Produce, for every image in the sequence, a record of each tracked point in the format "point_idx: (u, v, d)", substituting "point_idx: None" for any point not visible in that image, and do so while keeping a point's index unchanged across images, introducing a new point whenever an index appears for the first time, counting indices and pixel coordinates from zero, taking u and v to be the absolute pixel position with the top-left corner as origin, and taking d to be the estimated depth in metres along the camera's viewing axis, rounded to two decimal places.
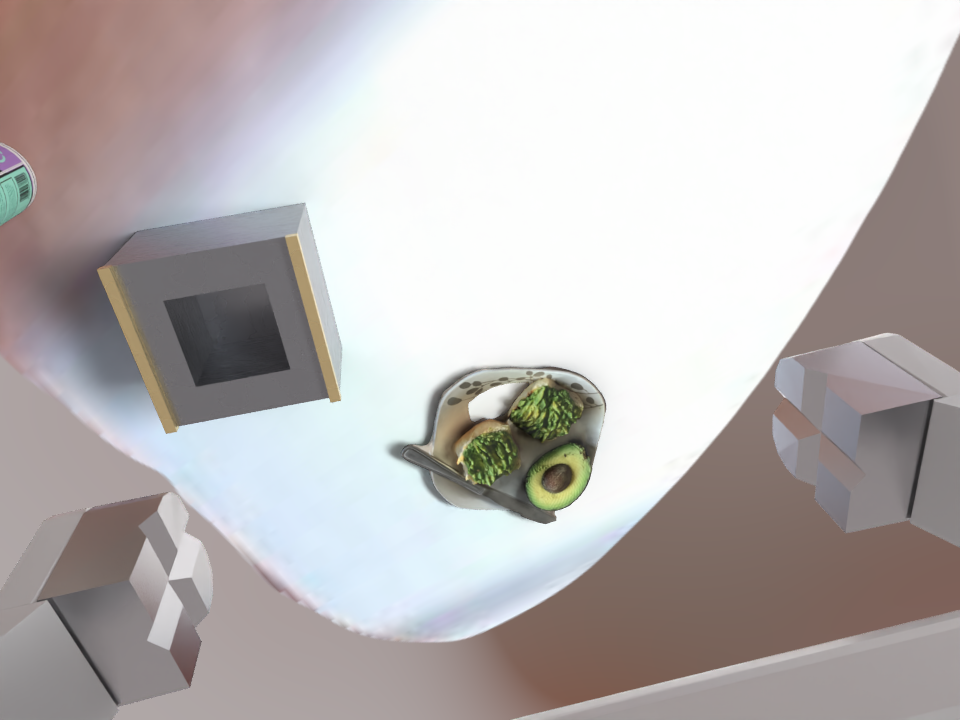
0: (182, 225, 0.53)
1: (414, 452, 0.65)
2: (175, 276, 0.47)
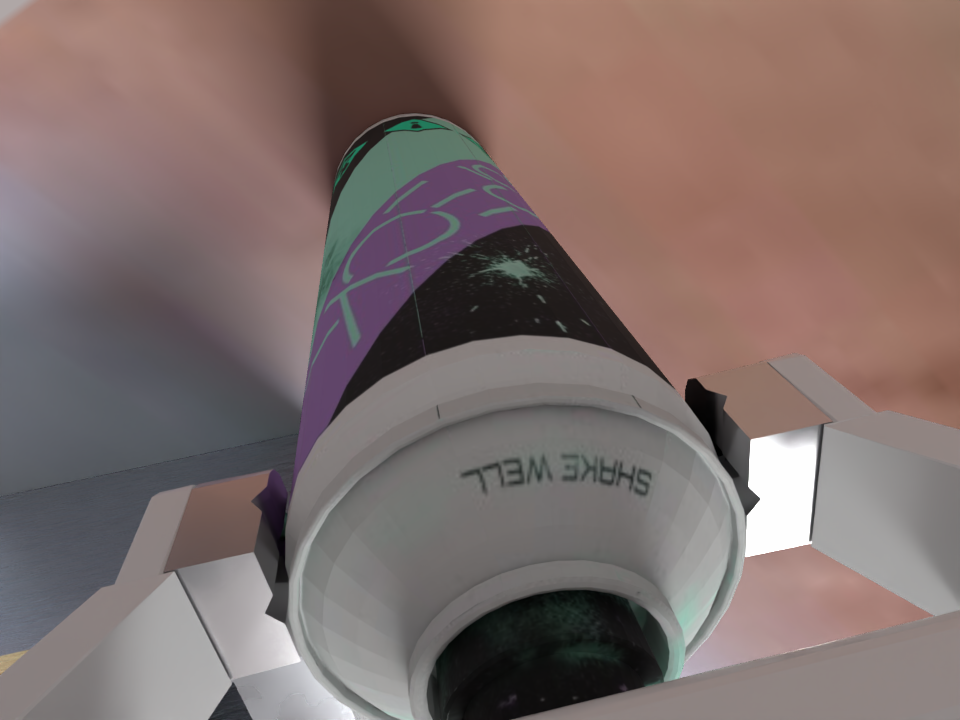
0: None
1: None
2: (297, 699, 0.22)
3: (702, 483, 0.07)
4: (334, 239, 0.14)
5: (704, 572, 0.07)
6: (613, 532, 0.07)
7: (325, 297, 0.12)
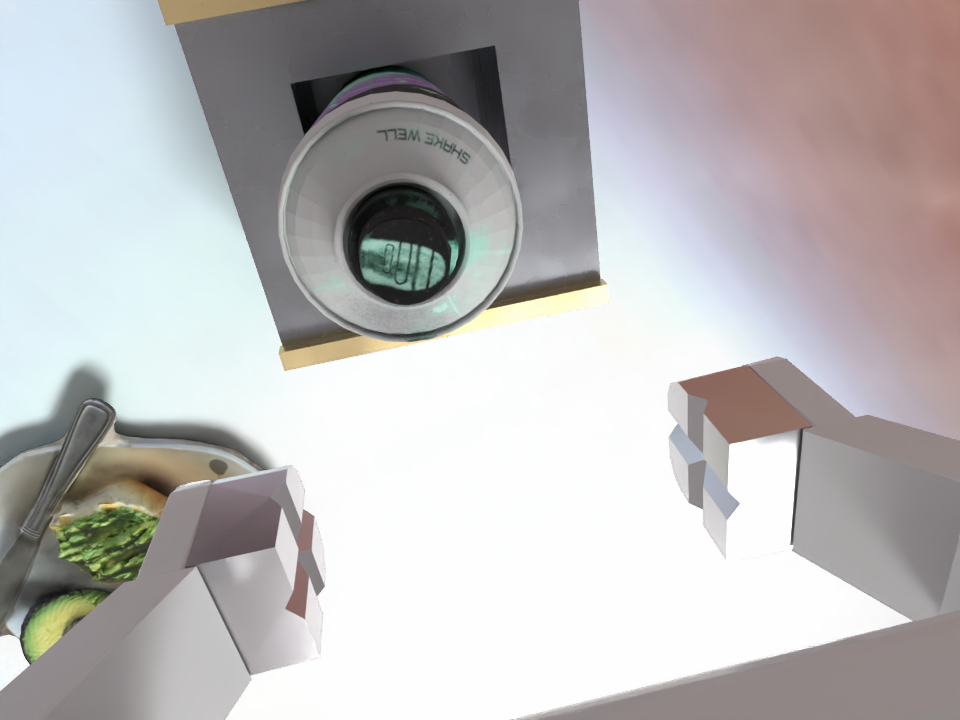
0: None
1: (100, 423, 0.35)
2: (544, 80, 0.24)
3: (498, 177, 0.15)
4: None
5: (494, 224, 0.15)
6: (445, 173, 0.14)
7: None
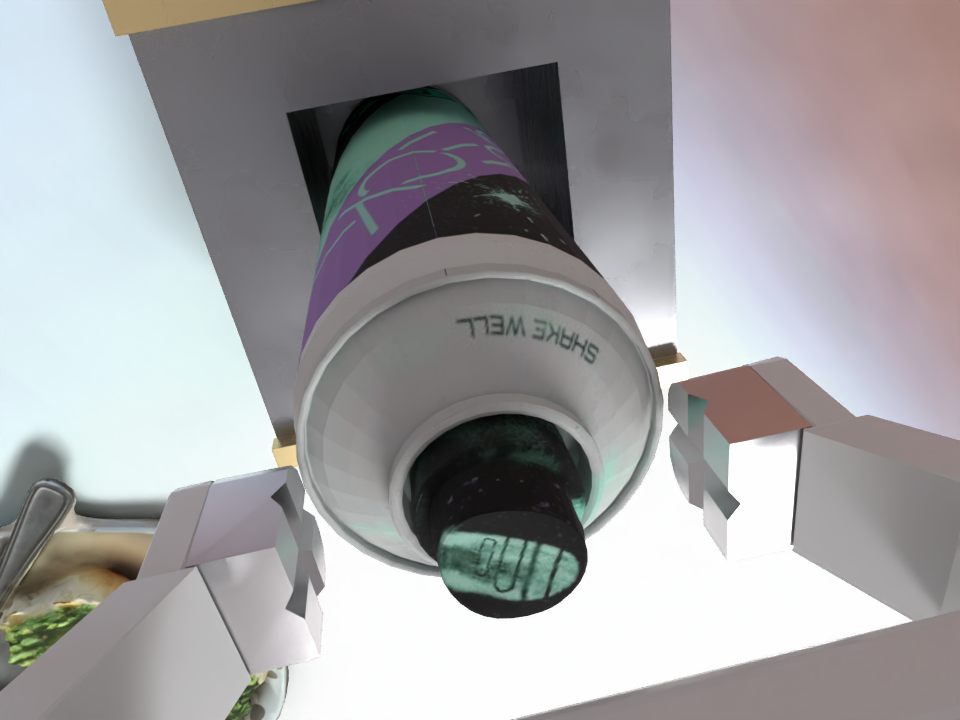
0: None
1: (56, 507, 0.29)
2: (619, 106, 0.18)
3: (635, 369, 0.10)
4: (346, 170, 0.16)
5: (626, 440, 0.10)
6: (563, 384, 0.09)
7: (338, 210, 0.14)
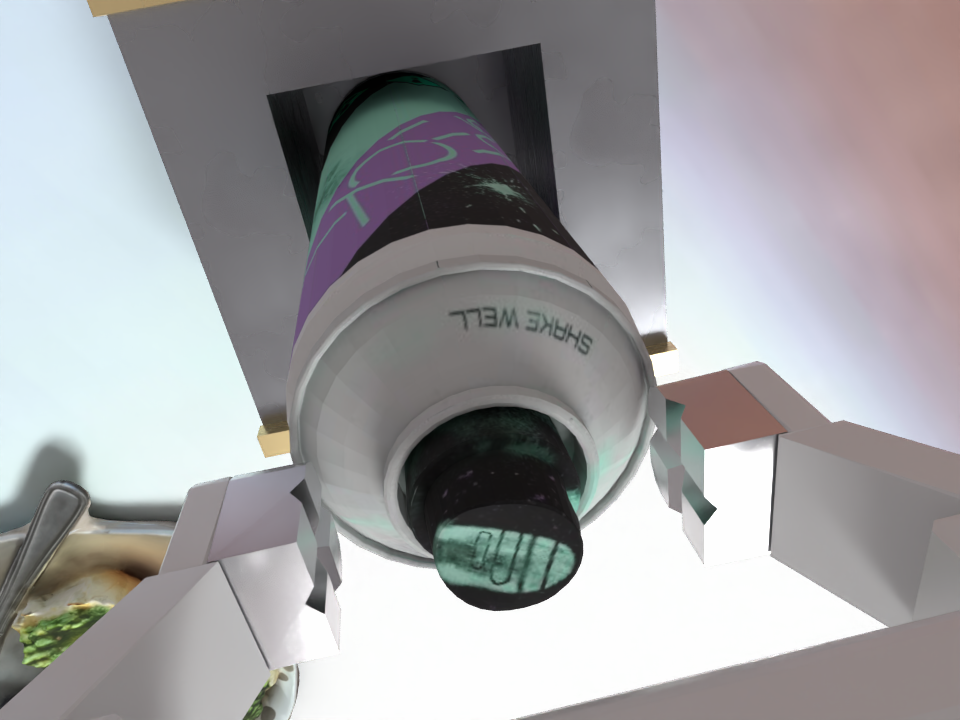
0: None
1: (71, 509, 0.29)
2: (604, 89, 0.18)
3: (629, 360, 0.09)
4: (336, 160, 0.16)
5: (620, 431, 0.10)
6: (557, 375, 0.09)
7: (329, 201, 0.14)
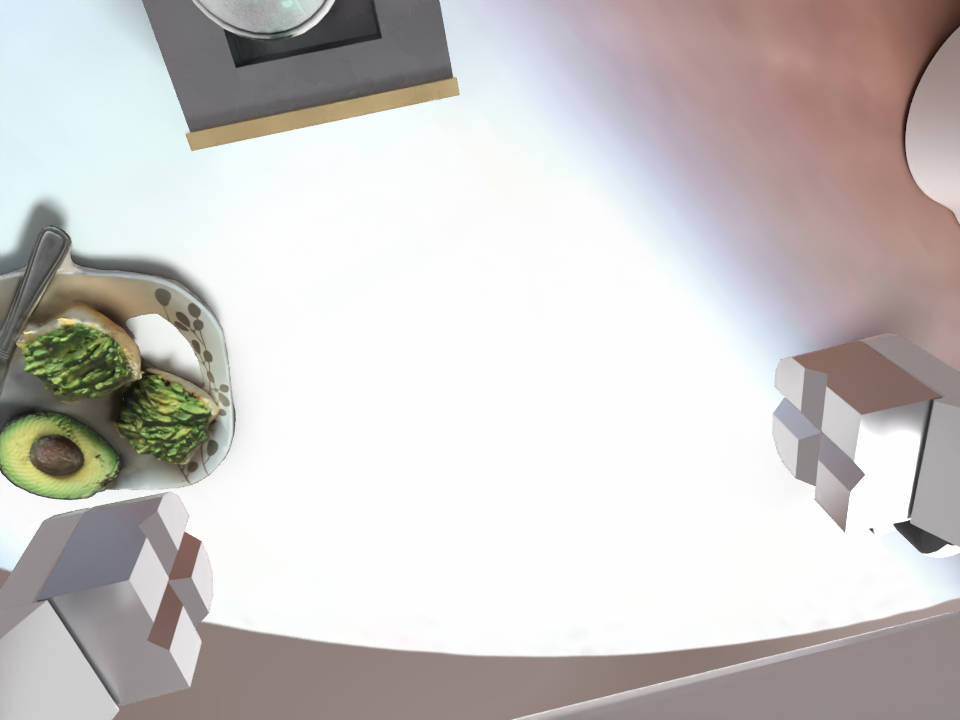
0: None
1: (58, 247, 0.41)
2: None
3: None
4: None
5: None
6: None
7: None
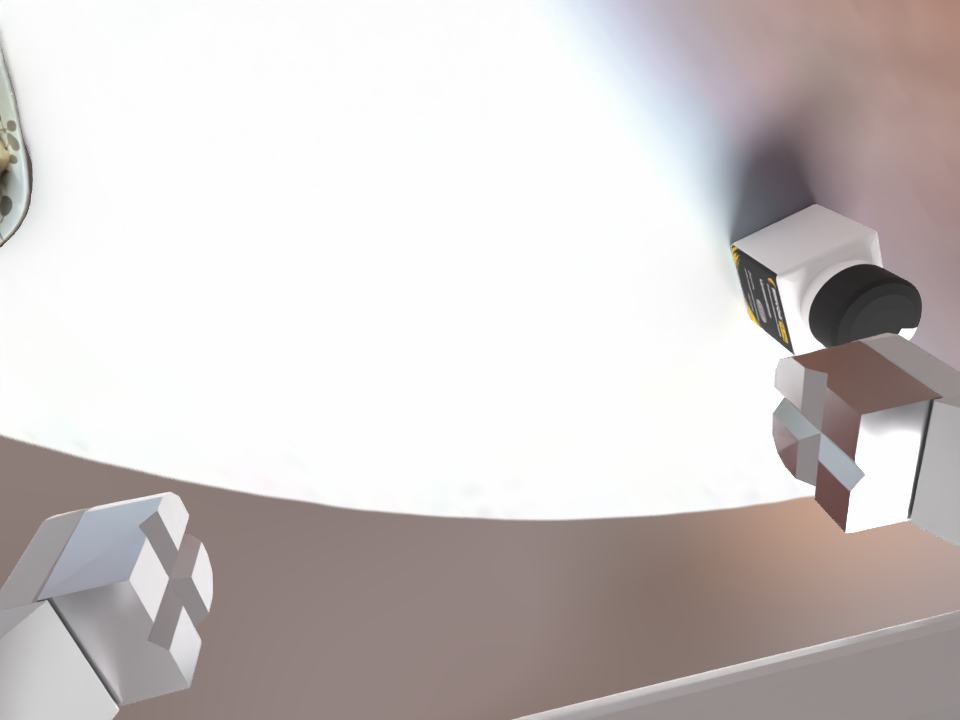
0: None
1: None
2: None
3: None
4: None
5: None
6: None
7: None
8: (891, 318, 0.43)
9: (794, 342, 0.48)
